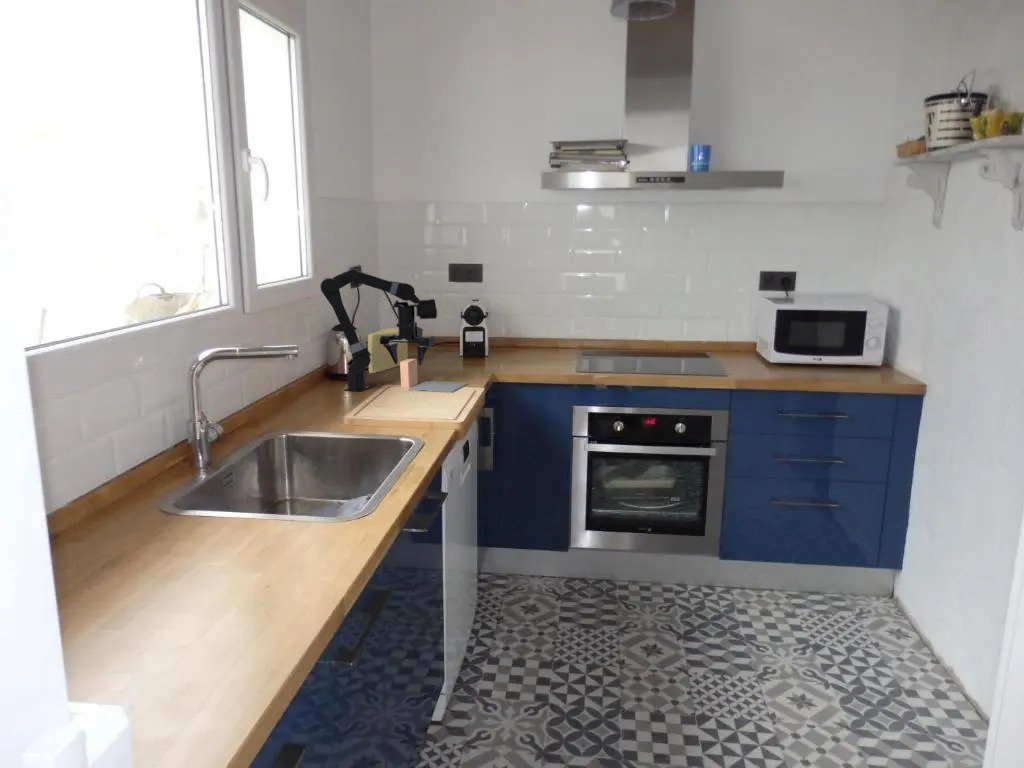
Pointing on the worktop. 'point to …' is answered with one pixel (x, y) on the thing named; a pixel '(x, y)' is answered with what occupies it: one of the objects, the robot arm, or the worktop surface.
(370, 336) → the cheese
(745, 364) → the worktop surface
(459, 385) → the mat
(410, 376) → the slab
